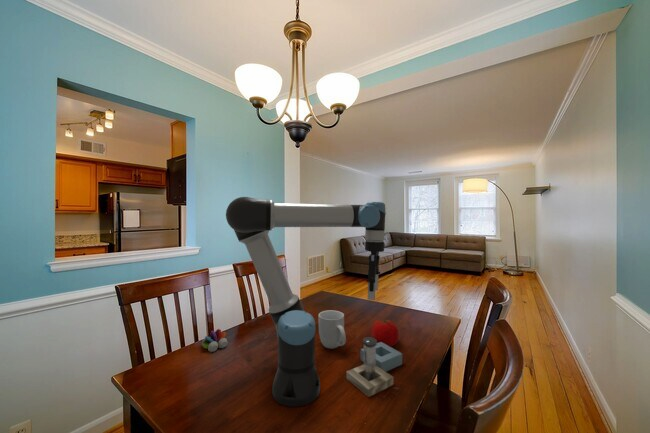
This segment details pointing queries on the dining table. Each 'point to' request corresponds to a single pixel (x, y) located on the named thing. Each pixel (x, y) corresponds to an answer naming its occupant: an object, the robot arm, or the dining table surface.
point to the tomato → (385, 332)
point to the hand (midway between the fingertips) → (373, 294)
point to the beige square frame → (369, 387)
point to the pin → (369, 358)
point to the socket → (385, 357)
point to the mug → (331, 329)
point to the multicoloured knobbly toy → (215, 340)
